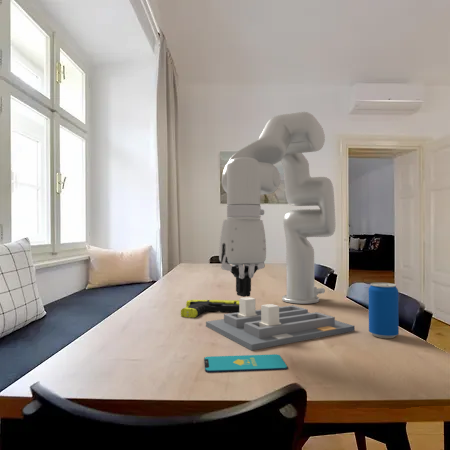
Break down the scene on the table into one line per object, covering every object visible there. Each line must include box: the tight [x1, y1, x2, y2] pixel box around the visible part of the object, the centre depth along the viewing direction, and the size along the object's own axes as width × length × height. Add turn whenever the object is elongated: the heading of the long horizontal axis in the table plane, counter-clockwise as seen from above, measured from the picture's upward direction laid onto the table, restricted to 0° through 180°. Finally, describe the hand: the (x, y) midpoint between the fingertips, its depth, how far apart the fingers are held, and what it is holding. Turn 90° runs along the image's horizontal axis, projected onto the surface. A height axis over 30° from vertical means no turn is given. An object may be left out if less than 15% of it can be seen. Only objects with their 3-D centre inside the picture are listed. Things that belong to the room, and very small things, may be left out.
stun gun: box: [180, 299, 239, 319], centre depth 113 cm, size 3×19×15 cm
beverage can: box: [368, 282, 400, 339], centre depth 88 cm, size 6×6×12 cm
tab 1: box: [238, 296, 257, 318], centre depth 96 cm, size 4×3×6 cm
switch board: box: [205, 304, 355, 351], centre depth 95 cm, size 30×22×3 cm
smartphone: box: [203, 353, 288, 374], centre depth 70 cm, size 7×1×15 cm
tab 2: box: [259, 303, 281, 327], centre depth 87 cm, size 4×3×6 cm
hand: (243, 295), depth 84 cm, fingers closed
